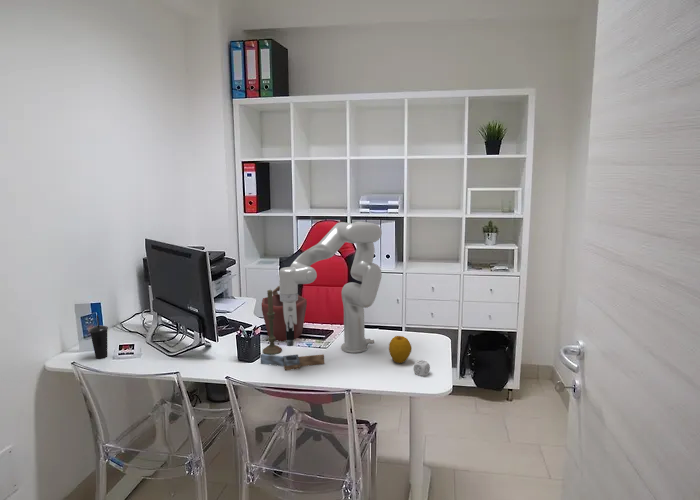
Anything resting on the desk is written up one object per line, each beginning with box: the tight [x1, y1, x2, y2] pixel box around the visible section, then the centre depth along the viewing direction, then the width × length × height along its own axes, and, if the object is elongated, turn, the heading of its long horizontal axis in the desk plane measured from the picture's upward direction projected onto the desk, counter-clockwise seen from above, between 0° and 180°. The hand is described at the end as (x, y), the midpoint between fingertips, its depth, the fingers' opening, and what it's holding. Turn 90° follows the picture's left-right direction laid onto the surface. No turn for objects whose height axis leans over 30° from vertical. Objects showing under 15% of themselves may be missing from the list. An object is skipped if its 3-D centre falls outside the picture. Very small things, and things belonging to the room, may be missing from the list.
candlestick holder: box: [262, 289, 283, 355], centre depth 234 cm, size 9×9×30 cm
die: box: [413, 359, 431, 377], centre depth 209 cm, size 5×5×5 cm
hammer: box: [259, 353, 325, 371], centre depth 221 cm, size 27×11×4 cm, turn 102°
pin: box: [286, 323, 295, 347], centre depth 216 cm, size 3×3×10 cm
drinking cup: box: [88, 314, 109, 360], centre depth 230 cm, size 8×8×20 cm
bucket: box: [261, 285, 308, 342], centre depth 255 cm, size 24×22×25 cm
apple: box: [388, 335, 412, 364], centre depth 221 cm, size 10×10×12 cm
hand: (290, 337), depth 216 cm, fingers closed on pin, 3 cm apart
